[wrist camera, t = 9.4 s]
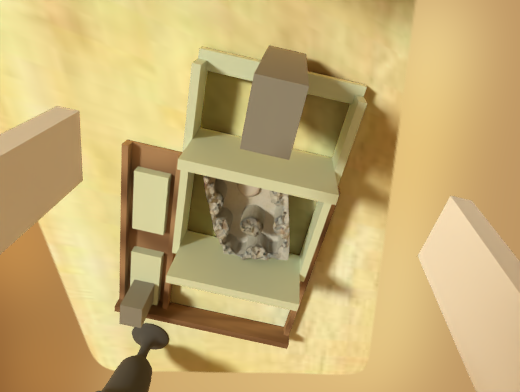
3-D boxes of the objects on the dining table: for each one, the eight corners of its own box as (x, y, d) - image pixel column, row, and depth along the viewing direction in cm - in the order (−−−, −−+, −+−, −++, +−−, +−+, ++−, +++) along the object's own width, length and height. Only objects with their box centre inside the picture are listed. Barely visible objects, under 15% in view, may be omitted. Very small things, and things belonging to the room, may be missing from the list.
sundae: (129, 349, 51) (71, 472, 38) (123, 315, 48) (58, 437, 35) (175, 355, 51) (133, 481, 38) (173, 321, 48) (125, 446, 35)
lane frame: (126, 139, 36) (115, 149, 34) (339, 188, 36) (341, 200, 34) (123, 296, 46) (114, 311, 44) (287, 332, 47) (286, 348, 45)
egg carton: (209, 152, 35) (198, 170, 32) (287, 149, 35) (286, 167, 31) (222, 242, 41) (214, 267, 37) (291, 242, 40) (290, 267, 36)
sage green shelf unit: (204, 28, 30) (153, 50, 20) (371, 67, 30) (408, 109, 20) (180, 235, 40) (138, 321, 30) (303, 263, 41) (304, 357, 30)
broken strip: (137, 166, 37) (116, 190, 32) (171, 173, 37) (154, 198, 33) (132, 293, 46) (115, 325, 41) (159, 299, 46) (145, 332, 41)
